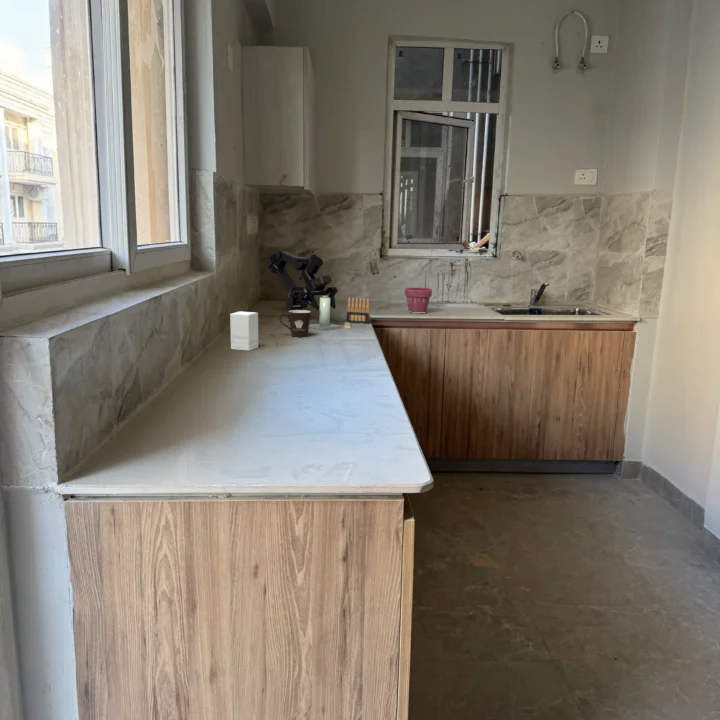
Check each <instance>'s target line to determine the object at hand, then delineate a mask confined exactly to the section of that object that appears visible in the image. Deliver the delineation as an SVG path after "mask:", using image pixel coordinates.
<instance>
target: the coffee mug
mask: <svg viewBox="0 0 720 720" xmlns="http://www.w3.org/2000/svg"><path fill="white" fill-rule="evenodd" d="M311 313H312V312H311V311H310V310H305V309H304V310H291V311H289V310H288V314H287V313H282V314H281V315H279V317H278V318H279V322H280V324H282V325H283V326H284V327H286V328H287V329H289V331H290V333H291V334H290V335H291V338H294V337H298V338H297V339H303V338H302V337H306V338H308V337H307V336H308V335H309V330H310V328H309V324H310V321H311ZM284 316H285V317H287V318H288V321H289V320H290V322H289V325H290V326H288V325H287V324H285V323H284V322H283V321H282V317H284ZM300 337H301V338H300Z"/></svg>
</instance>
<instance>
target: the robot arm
mask: <svg viewBox="0 0 720 720" xmlns="http://www.w3.org/2000/svg"><path fill="white" fill-rule="evenodd" d="M287 264H290V265H291V266H292V269H294V270H295V271H296V272H301V273H299V276H298V280H299V281H301V280H302V282H303V283H304V284H305V286H304V287H303V286H297V285H296V283H295V281H294V280H293V279H292V277H291V275H290V274H289V272H288V271H287V270H286V266H287ZM323 265H324V260H323V259H322V258H321V257H319V256H317V254H311V255H310V258H309V257H302V256H298V255H296V254H294V253H290V252H289V251H288V250H285V249H283V250H277V251H276V252H275V253H274V254H273V255H271V256H269V257H268V258H267V260H266V262H265V266H266V268H267V270H268V271H269V272H270V273H272V274H273V275H276V277H277V278H278V279H279V281H280V283H281V285H283V286H284V289H285V290H286V291H287V293H288V296H287V299H286V302H285V307H286V309H289V310H288V312H289V311H291V310H305V309H307V308H308V305H309V306H310V307H312V308H314V309H315V310H316V311H320V305H319V304H318V302H317V300H316V297H322V296H328V297H329V298H330V308H332V309H334V310H335V309H336V300H335V296H336V294H338V292H339V290H338V288H337V287H336V286H328V287H327V288H326V285H329V284H331V283H332V281H333V279H332V277H331V276H330V275H329V274H327V275H321V276H319V277H317V274H318V273H319V271H320V270H321V268H322V267H323ZM325 288H326V290H324V289H325ZM304 308H305V309H304ZM288 323H290V320H289V319H288Z"/></svg>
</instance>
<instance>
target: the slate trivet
mask: <svg viewBox="0 0 720 720" xmlns="http://www.w3.org/2000/svg"><path fill="white" fill-rule="evenodd" d="M309 327H312V328H311V329H314V328H316V329H315V330H319V329H321V330H320V331H329V330H328V329H331V330H338V329H337V328H340V329H343V325H340V324H335V323H334V324H333V323H330V326H320V325H319V323H309Z"/></svg>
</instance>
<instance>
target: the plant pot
mask: <svg viewBox="0 0 720 720" xmlns="http://www.w3.org/2000/svg"><path fill="white" fill-rule="evenodd" d="M432 290H433V289H432V288H429V287H405V289H404V296H405V298H406V303H407V304H406V305H407V308H408V312H409V311H411V312H426V313H427V309H428V306H429V302H430V299H431V297H432V296H433V295H432V294H433V293H432V292H433V291H432Z"/></svg>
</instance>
